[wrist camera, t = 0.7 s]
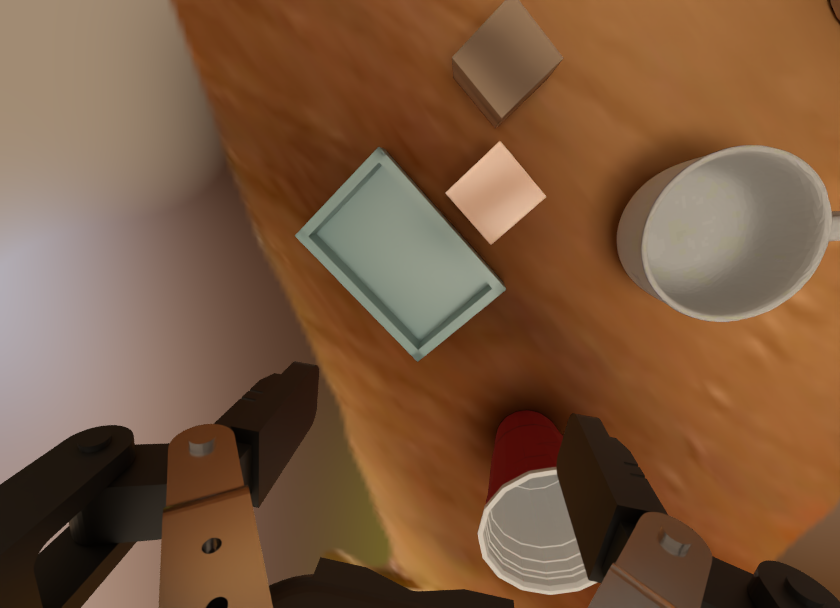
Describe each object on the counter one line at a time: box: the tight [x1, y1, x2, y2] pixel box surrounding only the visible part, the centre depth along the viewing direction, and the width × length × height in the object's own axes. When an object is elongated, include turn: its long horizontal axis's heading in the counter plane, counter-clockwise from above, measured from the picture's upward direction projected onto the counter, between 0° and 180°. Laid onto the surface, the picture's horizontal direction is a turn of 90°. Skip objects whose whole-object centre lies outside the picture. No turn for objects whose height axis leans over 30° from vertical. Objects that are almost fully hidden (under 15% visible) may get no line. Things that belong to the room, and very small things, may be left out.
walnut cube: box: [452, 0, 563, 128], centre depth 27 cm, size 5×5×5 cm
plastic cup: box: [478, 410, 597, 595], centre depth 32 cm, size 11×11×12 cm
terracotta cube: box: [446, 141, 546, 244], centre depth 30 cm, size 5×5×5 cm
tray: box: [295, 147, 506, 362], centre depth 33 cm, size 10×15×2 cm, turn 43°
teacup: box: [617, 145, 840, 322], centre depth 27 cm, size 14×11×8 cm
